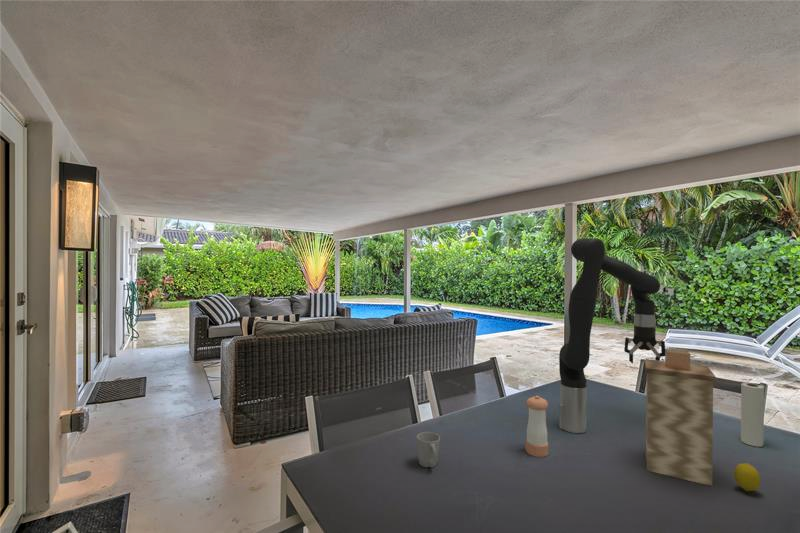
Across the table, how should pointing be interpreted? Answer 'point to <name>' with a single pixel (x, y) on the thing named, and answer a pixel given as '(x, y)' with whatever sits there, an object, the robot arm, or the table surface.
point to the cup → (428, 448)
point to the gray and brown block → (677, 359)
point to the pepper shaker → (537, 427)
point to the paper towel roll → (752, 414)
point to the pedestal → (679, 421)
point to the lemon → (747, 477)
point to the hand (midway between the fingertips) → (644, 364)
